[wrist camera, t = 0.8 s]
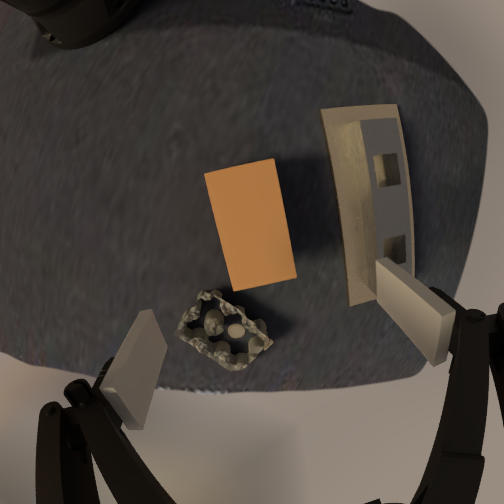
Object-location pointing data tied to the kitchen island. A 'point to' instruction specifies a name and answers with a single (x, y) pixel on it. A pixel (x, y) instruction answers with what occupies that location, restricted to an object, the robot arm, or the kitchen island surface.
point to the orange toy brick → (251, 224)
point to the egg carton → (216, 326)
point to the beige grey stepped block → (370, 192)
